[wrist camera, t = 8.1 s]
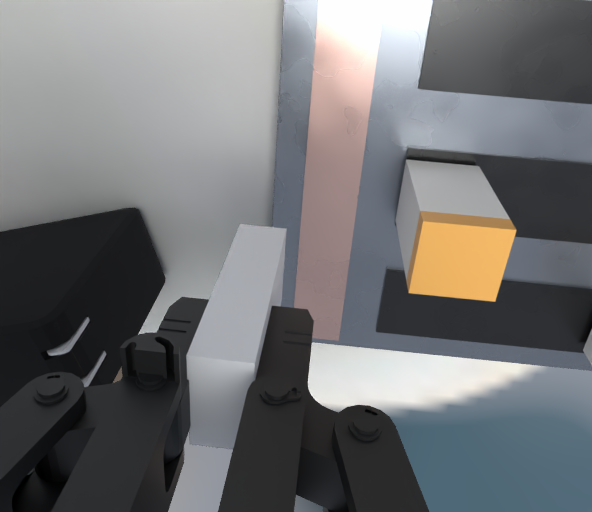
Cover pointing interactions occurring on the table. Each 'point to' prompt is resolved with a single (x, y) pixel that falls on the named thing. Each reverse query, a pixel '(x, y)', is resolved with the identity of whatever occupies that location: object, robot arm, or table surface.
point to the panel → (444, 149)
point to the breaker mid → (452, 231)
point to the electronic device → (73, 296)
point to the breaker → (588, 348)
